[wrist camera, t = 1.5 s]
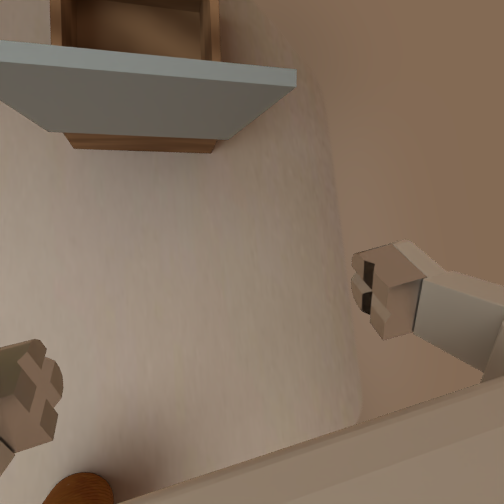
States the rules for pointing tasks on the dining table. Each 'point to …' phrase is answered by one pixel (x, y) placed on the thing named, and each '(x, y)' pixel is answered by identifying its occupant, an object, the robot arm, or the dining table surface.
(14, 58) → the lid
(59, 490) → the disposable coffee cup
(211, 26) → the box
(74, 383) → the dining table surface
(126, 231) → the dining table surface
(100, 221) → the dining table surface
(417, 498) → the robot arm
